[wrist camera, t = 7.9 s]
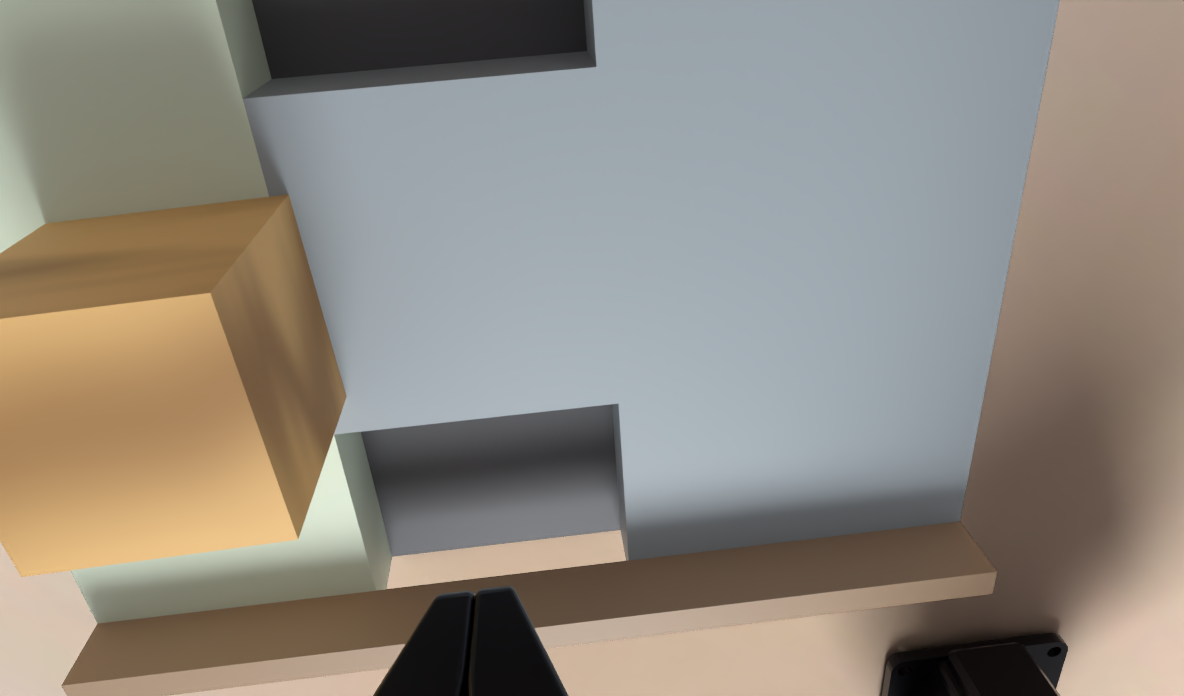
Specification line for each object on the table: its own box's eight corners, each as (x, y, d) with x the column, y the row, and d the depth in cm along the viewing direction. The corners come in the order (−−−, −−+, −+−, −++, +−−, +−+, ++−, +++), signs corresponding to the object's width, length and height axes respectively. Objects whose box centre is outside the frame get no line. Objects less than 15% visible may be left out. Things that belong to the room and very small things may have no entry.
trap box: (917, 488, 25) (992, 594, 21) (144, 578, 24) (73, 706, 20) (1041, -314, 16) (1218, -391, 12) (-223, -226, 15) (-490, -279, 11)
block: (346, 396, 19) (298, 539, 15) (134, 424, 19) (21, 577, 15) (288, 194, 17) (210, 293, 12) (45, 223, 17) (-122, 333, 12)
